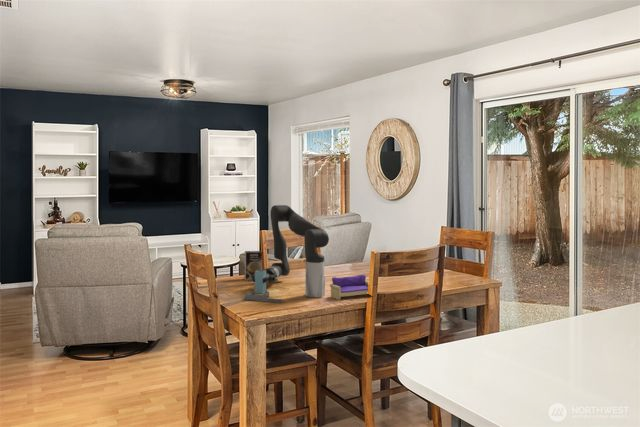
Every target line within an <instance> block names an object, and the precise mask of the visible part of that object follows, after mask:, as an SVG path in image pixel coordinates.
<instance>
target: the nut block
mask: <svg viewBox="0 0 640 427" xmlns="http://www.w3.org/2000/svg"><path fill="white" fill-rule="evenodd" d="M265 277H266V270H265V269H262V270H257V271H255V282H254V294H265V293H266V292H267V283H266V282H265V283H263V278H265Z"/></svg>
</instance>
